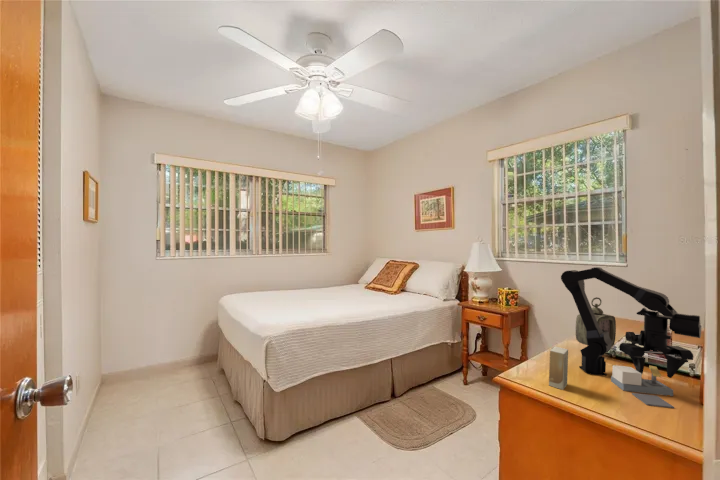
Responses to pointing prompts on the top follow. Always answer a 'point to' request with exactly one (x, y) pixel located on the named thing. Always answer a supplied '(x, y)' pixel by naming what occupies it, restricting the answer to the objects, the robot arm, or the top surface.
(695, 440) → the top surface
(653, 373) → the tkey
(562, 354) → the skincare box
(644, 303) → the robot arm
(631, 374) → the cover
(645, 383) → the latch base
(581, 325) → the tabletop clock
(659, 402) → the mat
